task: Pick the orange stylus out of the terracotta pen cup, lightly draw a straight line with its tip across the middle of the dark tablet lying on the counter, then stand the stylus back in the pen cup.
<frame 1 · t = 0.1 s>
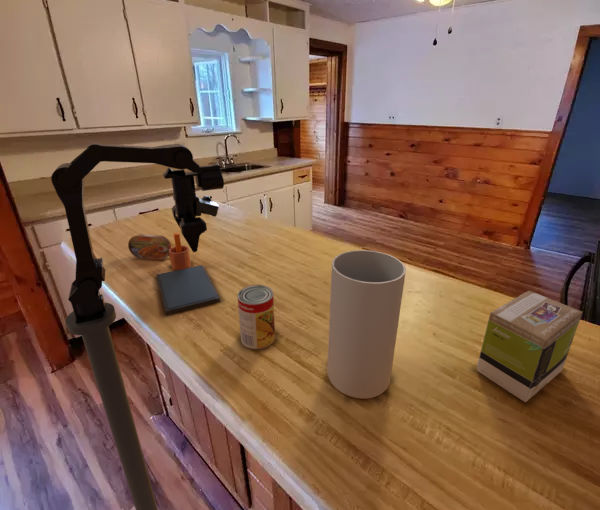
hand: (191, 245, 97), 12 cm above the countertop, tool pointing down, fingers open, 9 cm apart
stylus: (181, 264, 112), resting on pen cup
canned food: (258, 338, 78), on the countertop
tea box: (517, 372, 69), on the countertop
tablet: (186, 288, 98), on the countertop
pen cup: (181, 265, 112), on the countertop
tin: (152, 258, 118), on the countertop
cylinder vase: (358, 376, 68), on the countertop
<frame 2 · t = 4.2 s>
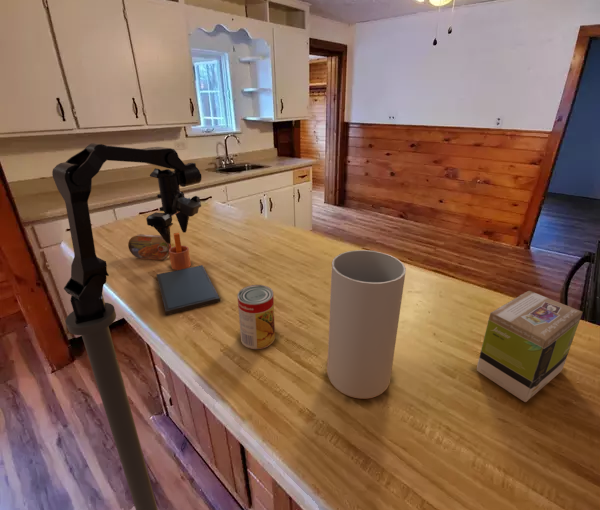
hand: (176, 237, 108), 10 cm above the countertop, tool pointing down, fingers open, 9 cm apart
nothing on the countertop moved.
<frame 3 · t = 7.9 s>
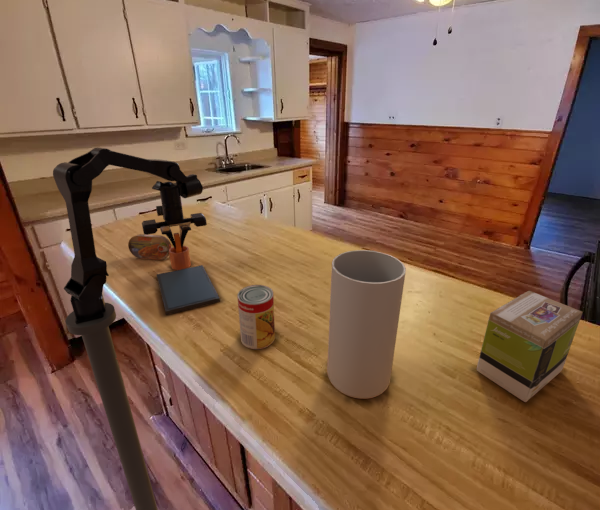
hand: (178, 247, 109), 7 cm above the countertop, tool pointing down, fingers closed on stylus, 2 cm apart
stylus: (181, 264, 112), point 1 cm above the countertop, touching gripper, pen cup
everything else where it was.
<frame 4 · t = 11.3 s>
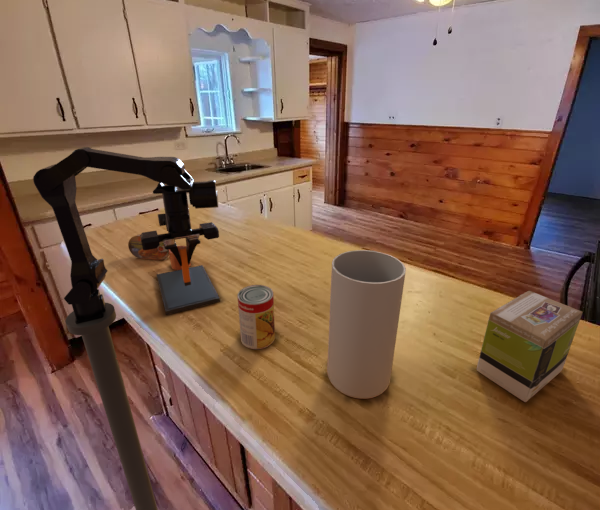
hand: (184, 264, 90), 10 cm above the countertop, tool pointing down, fingers closed on stylus
stylus: (187, 284, 93), point 4 cm above the countertop, touching gripper
everything else where it was.
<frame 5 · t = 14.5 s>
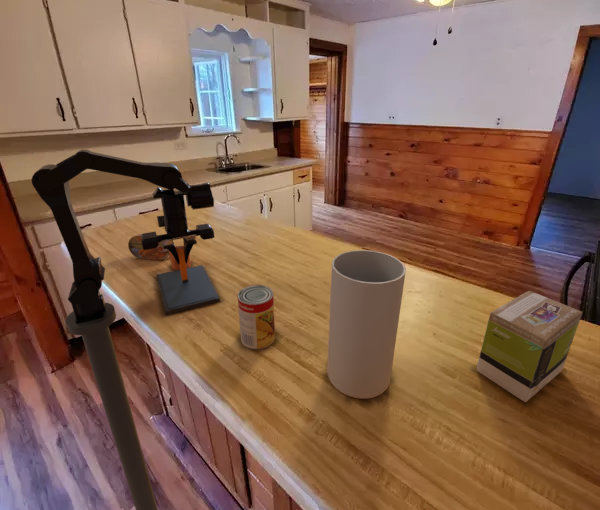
hand: (182, 263, 96), 8 cm above the countertop, tool pointing down, fingers closed on stylus, 1 cm apart
stylus: (185, 281, 99), point 2 cm above the countertop, touching gripper
everything else where it was.
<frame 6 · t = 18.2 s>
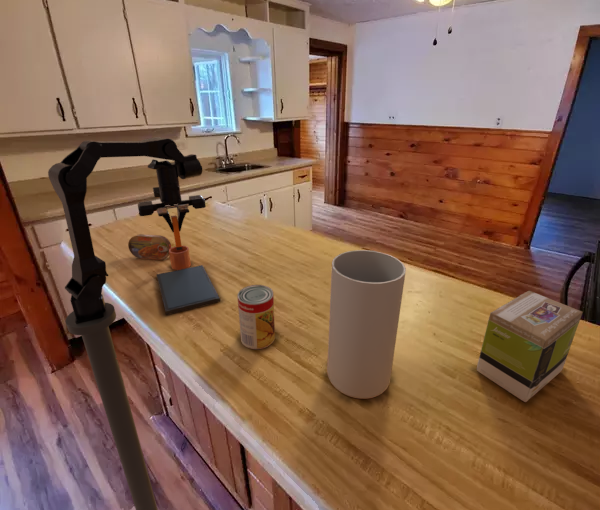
hand: (176, 231, 105), 13 cm above the countertop, tool pointing down, fingers closed on stylus
stylus: (179, 249, 107), point 7 cm above the countertop, touching gripper
everything else where it was.
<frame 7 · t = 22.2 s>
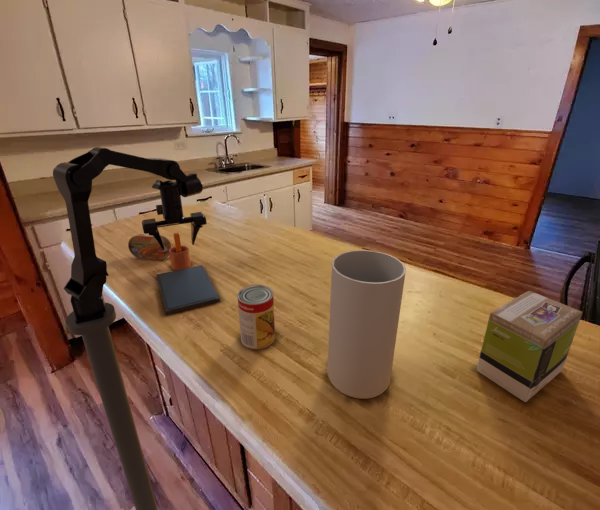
hand: (178, 247, 109), 7 cm above the countertop, tool pointing down, fingers open, 9 cm apart
stylus: (180, 264, 112), resting on pen cup
everything else where it was.
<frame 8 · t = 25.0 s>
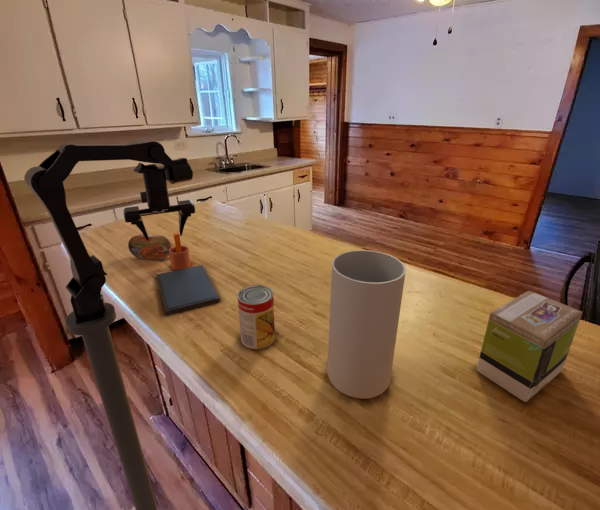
hand: (164, 238, 100), 13 cm above the countertop, tool pointing down, fingers open, 9 cm apart
nothing on the countertop moved.
at the end: stylus 0.1 cm off-centre in the pen cup, point 0.5 cm above the pen cup's base; stylus tilted 0°; the gripper is holding nothing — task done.
